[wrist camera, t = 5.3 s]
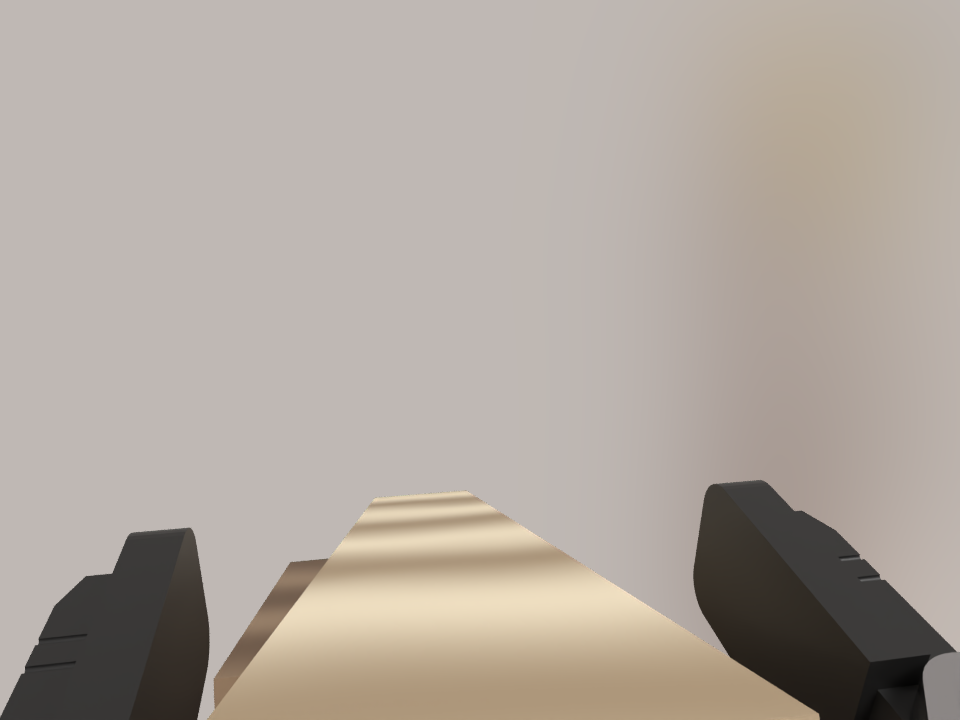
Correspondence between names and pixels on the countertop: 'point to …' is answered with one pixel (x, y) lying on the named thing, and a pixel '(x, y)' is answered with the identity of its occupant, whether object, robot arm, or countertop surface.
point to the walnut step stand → (266, 622)
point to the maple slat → (482, 634)
